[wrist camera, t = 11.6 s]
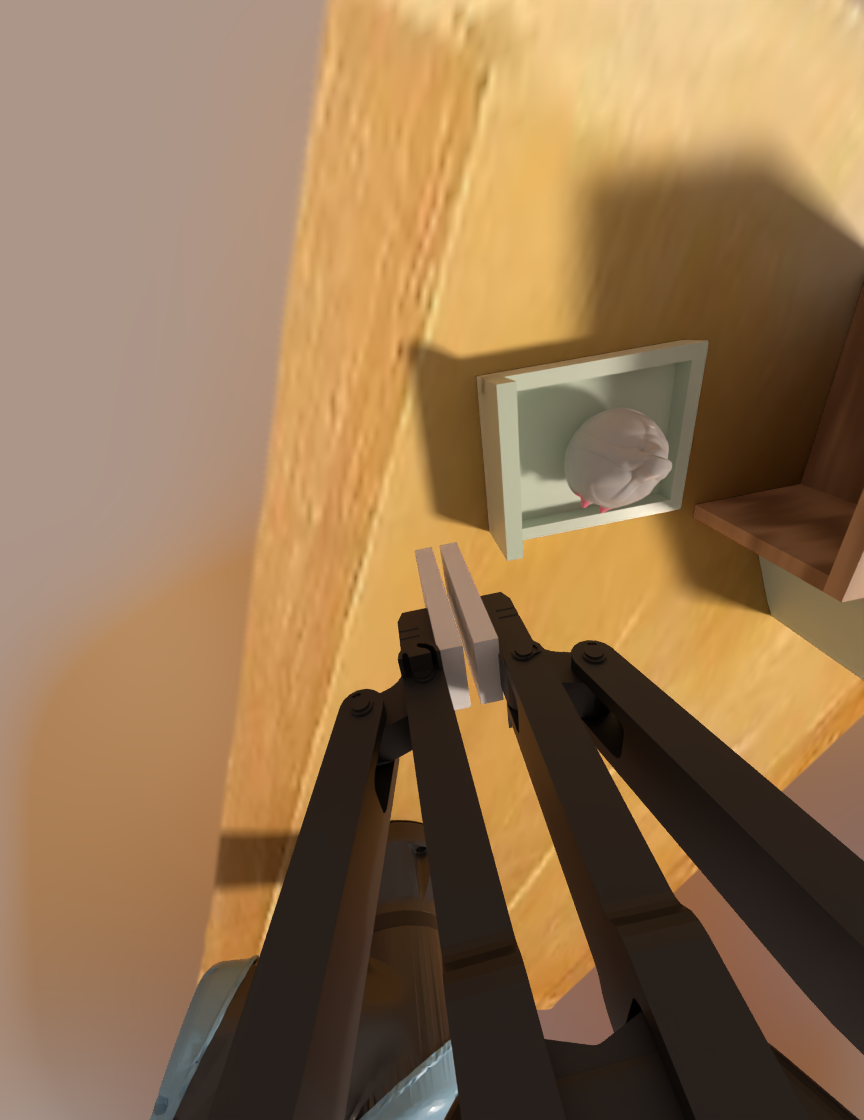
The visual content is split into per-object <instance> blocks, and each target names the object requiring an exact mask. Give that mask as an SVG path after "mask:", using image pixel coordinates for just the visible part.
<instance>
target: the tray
mask: <svg viewBox="0 0 864 1120" xmlns="http://www.w3.org/2000/svg"><path fill="white" fill-rule="evenodd" d="M708 344H709V341H706V340H679V341H674V342H668V343H662V344H657V345H651V346H645V347H640V348H634V349H628V350H623V351H617V352H611V353H606V354H600V355H594V356H589V357H583V358H577V359H572V360H566V361H560V362H554V363H549V364H543V365H537V366H532V367H526V368H520V369H515V370H509V371H503V372H498V373H492V374H486V375H481V376H476V378H477V390H478V402H479V414H480V426H481V437H482V449H483V461H484V473H485V485H486V497H487V509H488V521H489V532H490V534H491V535H492V537H493V538H494V540H495V542H496V543H497V545H498V546H499V548H500V550H501V551H502V553H503V555H504V556H505V558H506V559H507V561H510V560H515V559H520V558H523V540H528V539H533V538H538V537H543V536H548V535H553V534H558V533H563V532H568V531H573V530H578V529H583V528H588V527H593V526H598V525H603V524H608V523H613V522H618V521H623V520H628V519H633V518H638V517H643V516H648V515H653V514H658V513H663V512H668V511H673V510H678V509H681V505H682V499H683V493H684V487H685V481H686V475H687V469H688V463H689V457H690V451H691V445H692V439H693V433H694V427H695V422H696V416H697V410H698V404H699V398H700V392H701V386H702V380H703V374H704V368H705V362H706V356H707V350H708ZM618 407H624V408H629V409H633V410H636V411H639V412H641V413H643V414H645V415H646V416H648V417H649V418H650V419H652V420H653V421H654V422H655V423H656V425H657V426H658V427H659V428H660V429H661V431H662V432H663V434H664V436H665V437H666V439H667V441H668V445H669V452H668V459H669V460H670V461H671V462H672V469H671V471H670V472H669V473H668V475H667V476H666V477H665V478H664V479H662V480H660V481H659V483H658V484H657V485H656V486H655V487H654V488H653V490H652V491H651V492H650V493H649V494H648V495H647V496H646V497H644V498H642V499H641V500H639V501H636V502H634V503H631V504H628V505H625V506H621V507H617V508H613V509H610V510H608V511H606V512H604V513H600V512H599V509H600V508H599V506H600V505H596V504H594V503H593V504H590V505H588V506H587V507H586V508H584V509H583V508H582V506H581V499H580V497H579V496H577V495H575V494H574V493H573V492H572V491H571V489H570V488H569V486H568V483H567V480H566V476H565V469H564V464H565V455H566V449H567V446H568V444H569V442H570V440H571V438H572V436H573V434H574V433H575V432H576V431H577V430H578V428H579V427H580V426H581V425H582V424H583V423H584V422H585V421H587V420H588V419H590V418H591V417H593V416H595V415H597V414H599V413H601V412H603V411H606V410H609V409H613V408H618Z"/></svg>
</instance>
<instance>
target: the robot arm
mask: <svg viewBox="0 0 864 1120" xmlns="http://www.w3.org/2000/svg"><path fill="white" fill-rule="evenodd" d="M440 551H441V557H442V564H443V570H444V577H445V583H446V590H447V595H446V592H445V588H444V585H443V582H442V579H441V576H440V572H439V569H438V566H437V563H436V560H435V556H434V553H433V550H432V547H430V548H425V549H420V550H415V555H416V560H417V565H418V571H419V576H420V581H421V586H422V592H423V597H424V602H425V607H426V608H424V609H419V610H415V611H410V612H405V613H402V614H401V616H400V618H399V621H398V630H399V638H400V647H401V651H400V653H399V655H398V663H399V667H400V671H401V675H402V676H401V678H400V679H399V681H398V682H397V683H396V684H395V685H394V686H392V687H391V688H389V689H387V690H385V691H383V692H381V693H378V692H377V691H375V690H371V689H363V690H358V691H356V692H354V693H352V694H350V695H349V696H348V697H347V698H346V699H345V700H344V701H343V703H342V704H341V706H340V709H339V712H338V715H337V718H336V721H335V724H334V727H333V731H332V734H331V737H330V740H329V743H328V746H327V749H326V752H325V755H324V758H323V762H322V765H321V768H320V771H319V774H318V777H317V780H316V783H315V786H314V790H313V793H312V796H311V799H310V802H309V805H308V808H307V811H306V814H305V817H304V821H303V824H302V827H301V830H300V833H299V836H298V839H297V842H296V845H295V849H294V852H293V855H292V858H291V861H290V864H289V867H288V870H287V873H286V876H285V880H284V883H283V886H282V889H281V892H280V895H279V898H278V901H277V904H276V908H275V911H274V914H273V917H272V920H271V923H270V926H269V929H268V932H267V935H266V939H265V942H264V945H263V948H262V951H261V954H260V957H259V956H258V955H255V956H253V957H251V958H249V959H240V960H230V961H222V962H219V963H217V964H215V965H214V966H212V967H211V968H210V969H209V970H208V971H207V972H206V973H205V974H204V976H203V977H202V979H201V980H200V982H199V984H198V986H197V988H196V991H195V993H194V996H193V998H192V1001H191V1003H190V1006H189V1008H188V1011H187V1013H186V1016H185V1018H184V1021H183V1024H182V1027H181V1029H180V1032H179V1035H178V1038H177V1040H176V1043H175V1046H174V1048H173V1051H172V1054H171V1057H170V1060H169V1063H168V1066H167V1069H166V1071H165V1075H164V1077H163V1080H162V1084H161V1087H160V1090H159V1096H158V1098H157V1100H156V1102H155V1106H154V1109H153V1112H152V1115H151V1118H150V1120H859V1119H858V1118H857V1117H856V1116H854V1115H853V1114H852V1113H851V1112H850V1111H849V1110H847V1109H846V1108H845V1107H844V1106H843V1105H842V1104H840V1103H839V1102H838V1101H837V1100H836V1099H835V1098H833V1097H832V1096H831V1095H830V1094H829V1093H828V1092H826V1091H825V1090H824V1089H823V1088H822V1087H820V1086H819V1085H818V1084H817V1083H816V1082H815V1081H813V1080H812V1079H811V1078H810V1077H809V1076H808V1075H806V1074H805V1073H804V1072H803V1071H802V1070H800V1069H799V1068H798V1067H797V1066H796V1065H795V1064H793V1063H792V1062H791V1061H790V1060H789V1059H788V1058H786V1057H785V1056H784V1055H783V1054H782V1053H780V1052H779V1051H778V1050H777V1049H776V1048H774V1047H773V1046H772V1045H770V1044H769V1043H768V1042H767V1041H766V1039H765V1037H764V1035H763V1033H762V1031H761V1030H760V1028H759V1026H758V1024H757V1022H756V1021H755V1019H754V1017H753V1015H752V1013H751V1011H750V1010H749V1008H748V1006H747V1004H746V1002H745V1001H744V999H743V997H742V995H741V993H740V992H739V990H738V988H737V986H736V984H735V982H734V981H733V979H732V977H731V975H730V973H729V971H728V970H727V968H726V966H725V964H724V963H723V961H722V959H721V957H720V955H719V953H718V951H717V950H716V948H715V946H714V944H713V943H712V941H711V939H710V937H709V935H708V934H707V932H706V930H705V929H704V927H703V925H702V924H701V922H700V921H699V919H698V918H697V917H696V916H695V915H694V913H693V912H692V911H691V910H690V909H688V908H686V907H685V906H683V905H682V904H680V902H679V901H678V900H677V899H676V897H675V896H674V894H673V892H672V890H671V889H670V887H669V885H668V883H667V881H666V879H665V877H664V875H663V873H662V871H661V870H660V868H659V866H658V864H657V862H656V860H655V858H654V856H653V854H652V853H651V851H650V849H649V847H648V845H647V843H646V841H645V839H644V837H643V836H642V834H641V832H640V830H639V828H638V826H637V824H636V822H635V820H634V818H633V817H632V815H631V813H630V811H629V809H628V807H627V805H626V803H625V801H624V800H623V798H622V796H621V794H620V792H619V790H618V788H617V786H616V784H615V783H614V781H613V779H612V777H611V775H610V773H609V771H608V769H607V767H606V765H605V764H604V762H603V760H602V758H601V756H600V754H599V752H598V750H599V751H600V752H601V754H602V755H603V756H604V757H605V758H606V760H607V761H608V762H609V763H610V764H611V765H612V767H613V768H614V769H615V770H616V771H617V773H618V774H619V775H620V776H621V777H622V778H623V780H624V781H625V782H626V783H627V784H628V786H629V787H630V788H631V789H632V790H633V791H634V793H635V794H636V795H637V796H638V797H639V799H640V800H641V801H642V802H643V803H644V804H645V806H646V807H647V808H648V809H649V810H650V811H651V813H652V814H653V815H654V816H655V817H656V819H657V820H658V821H659V822H660V823H661V824H662V826H663V827H664V828H665V829H666V830H667V832H668V833H669V834H670V835H671V836H672V837H673V839H674V840H675V841H676V842H677V843H678V845H679V846H680V847H681V848H682V849H683V850H684V852H685V853H686V854H687V855H688V856H689V858H690V859H691V860H692V861H693V862H694V863H695V865H696V866H697V867H698V868H699V869H700V870H701V872H702V873H703V874H704V875H705V876H706V877H707V879H708V880H709V881H710V882H711V883H712V885H713V886H714V887H715V888H716V889H717V891H718V892H719V893H720V894H721V895H722V896H723V898H724V899H725V900H726V901H727V902H728V903H729V904H730V906H731V907H732V908H733V909H734V910H735V912H736V913H737V914H738V915H739V916H740V918H741V919H742V920H743V921H744V922H745V924H746V925H747V926H748V927H749V928H750V929H751V931H752V932H753V933H754V934H755V935H756V937H757V938H758V939H759V940H760V941H761V942H762V944H763V945H764V946H765V947H766V948H767V950H768V951H769V952H770V953H771V954H772V955H773V957H774V958H775V959H776V960H777V961H778V962H779V963H780V965H781V966H782V967H783V968H784V970H785V971H786V972H787V973H788V974H789V975H790V977H791V978H792V979H793V980H794V981H795V983H796V984H797V985H798V986H799V987H800V988H801V990H802V991H803V992H804V993H805V994H806V995H807V996H808V997H809V999H810V1000H811V1001H812V1002H813V1003H814V1004H815V1005H816V1006H817V1007H818V1009H819V1010H820V1011H821V1012H822V1013H823V1014H824V1015H825V1016H826V1017H827V1018H828V1020H829V1021H830V1022H831V1023H832V1024H833V1025H834V1026H835V1027H836V1028H837V1029H838V1030H839V1031H840V1032H841V1033H842V1034H843V1035H844V1036H845V1037H846V1038H847V1039H848V1040H849V1041H850V1042H851V1043H852V1044H853V1045H854V1046H855V1047H856V1048H857V1049H858V1050H859V1051H860V1052H861V1053H862V1054H863V1055H864V861H863V860H862V859H860V858H859V857H858V856H857V855H856V854H854V853H853V852H852V851H851V850H850V849H849V848H847V847H846V846H845V845H844V844H843V843H842V842H840V841H839V840H838V839H837V838H836V837H834V836H833V835H832V834H831V833H830V832H829V831H827V830H826V829H825V828H824V827H823V826H821V825H820V824H819V823H818V822H817V821H816V820H814V819H813V818H812V817H811V816H810V815H808V814H807V813H806V812H805V811H804V810H803V809H801V808H800V807H799V806H798V805H797V804H795V803H794V802H793V801H792V800H791V799H790V798H788V797H787V796H786V795H785V794H784V793H783V792H781V791H780V790H779V789H778V788H777V787H776V786H774V785H773V784H772V783H771V782H770V781H768V780H767V779H766V778H765V777H764V776H763V775H761V774H760V773H759V772H758V771H757V770H755V769H754V768H753V767H752V766H751V765H750V764H748V763H747V762H746V761H745V760H744V759H742V758H741V757H740V756H739V755H738V754H737V753H735V752H734V751H733V750H732V749H731V748H729V747H728V746H727V745H726V744H725V743H724V742H722V741H721V740H720V739H719V738H718V737H717V736H715V735H714V734H713V733H712V732H711V731H709V730H708V729H707V728H706V727H705V726H704V725H702V724H701V723H700V722H699V721H698V720H696V719H695V718H694V717H693V716H692V715H691V714H689V713H688V712H687V711H686V710H685V709H683V708H682V707H681V706H680V705H679V704H678V703H676V702H675V701H674V700H673V699H672V698H671V697H669V696H668V695H667V694H666V693H665V692H663V691H662V690H661V689H660V688H659V687H658V686H656V685H655V684H654V683H653V682H652V681H650V680H649V679H648V678H647V677H646V676H645V675H643V674H642V673H641V672H640V671H639V670H637V669H636V668H635V667H634V666H633V665H632V664H630V663H629V662H628V661H627V660H626V659H625V658H623V657H622V656H621V655H620V654H619V653H617V652H616V651H615V650H614V649H613V648H612V647H610V646H608V645H607V644H605V643H602V642H599V641H591V640H587V641H582V642H579V643H578V644H576V645H575V646H574V647H573V649H572V650H571V652H554V651H549V650H545V649H544V648H543V647H542V646H541V645H540V644H539V643H537V642H535V641H533V640H532V638H531V636H530V634H529V633H528V631H527V629H526V627H525V625H524V623H523V621H522V620H521V618H520V616H519V615H518V612H517V610H516V609H515V607H514V605H513V603H512V601H511V599H510V598H509V597H507V596H506V595H504V594H503V593H501V592H498V593H493V594H488V595H483V596H480V595H479V593H478V590H477V588H476V586H475V584H474V581H473V579H472V577H471V574H470V572H469V570H468V567H467V565H466V563H465V561H464V558H463V556H462V554H461V551H460V549H459V547H458V545H457V542H455V543H450V544H445V545H440ZM447 596H448V598H447ZM448 599H449V601H448ZM449 603H450V604H449ZM450 606H451V608H450ZM451 609H452V611H451ZM452 612H453V614H452ZM453 615H454V617H453ZM454 618H455V620H454ZM455 622H456V624H455ZM456 625H457V627H456ZM457 628H458V630H457ZM458 631H459V633H458ZM459 634H460V636H459ZM460 638H461V640H460ZM461 641H462V643H461ZM462 644H463V647H464V650H465V653H466V657H467V660H468V663H469V666H470V669H471V673H472V676H473V679H474V682H475V685H476V689H477V692H478V695H479V698H480V701H481V704H486V703H490V702H495V701H499V700H503V692H504V695H505V698H506V700H507V710H508V723H509V728H511V727H512V726H513V729H514V732H515V735H516V738H517V740H518V743H519V746H520V749H521V752H522V755H523V758H524V761H525V763H526V766H527V769H528V772H529V775H530V778H531V781H532V784H533V786H534V789H535V792H536V795H537V798H538V801H539V804H540V807H541V809H542V812H543V815H544V818H545V821H546V824H547V827H548V830H549V832H550V835H551V838H552V841H553V844H554V847H555V850H556V853H557V855H558V858H559V861H560V864H561V867H562V870H563V873H564V876H565V878H566V881H567V884H568V887H569V890H570V893H571V896H572V899H573V901H574V904H575V907H576V910H577V913H578V916H579V919H580V922H581V924H582V927H583V930H584V933H585V936H586V939H587V942H588V945H589V947H590V950H591V953H592V956H593V959H594V962H595V965H596V968H597V971H598V975H599V979H600V984H601V989H602V994H603V998H604V1002H605V1005H606V1009H607V1012H608V1015H609V1018H610V1022H611V1025H612V1028H613V1031H614V1033H613V1034H612V1035H611V1036H610V1037H608V1038H607V1039H606V1040H605V1041H603V1042H602V1043H601V1044H598V1045H585V1044H578V1043H570V1042H562V1041H555V1040H547V1039H544V1036H543V1032H542V1028H541V1025H540V1021H539V1017H538V1014H537V1010H536V1006H535V1002H534V999H533V995H532V991H531V988H530V984H529V980H528V977H527V973H526V969H525V966H524V962H523V959H522V956H521V953H520V950H519V948H518V945H517V942H516V939H515V936H514V932H513V928H512V925H511V921H510V917H509V913H508V910H507V906H506V902H505V898H504V895H503V891H502V887H501V883H500V880H499V876H498V872H497V868H496V865H495V861H494V857H493V853H492V850H491V846H490V842H489V838H488V835H487V831H486V827H485V823H484V820H483V816H482V812H481V808H480V805H479V801H478V797H477V793H476V790H475V786H474V782H473V778H472V775H471V771H470V767H469V763H468V760H467V756H466V752H465V748H464V745H463V741H462V737H461V733H460V730H459V726H458V722H457V718H456V714H455V711H454V710H458V709H463V708H467V707H471V703H470V696H469V689H468V682H467V675H466V668H465V661H464V654H463V647H462ZM597 749H598V750H597ZM411 750H413V756H414V763H415V770H416V777H417V785H418V792H419V799H420V806H421V813H422V820H423V824H418V823H411V822H393V823H390V817H391V811H392V804H393V798H394V791H395V784H396V778H397V771H398V765H399V757H401V756H402V755H404V754H406V753H408V752H409V751H411Z"/></svg>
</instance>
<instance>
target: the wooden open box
mask: <svg viewBox="0 0 864 1120" xmlns="http://www.w3.org/2000/svg"><path fill="white" fill-rule="evenodd" d="M693 518H695V519H697V520H698V521H700V522H702V523H704V524H705V525H707V526H709V527H711V528H712V529H714V530H716V531H718V532H719V533H721V534H723V535H725V536H726V537H728V538H730V539H732V540H733V541H735V542H737V543H739V544H740V545H742V546H744V547H746V548H747V549H749V550H751V551H753V552H754V553H756V554H758V555H760V556H761V557H763V558H765V559H767V560H768V561H770V562H772V563H774V564H775V565H777V566H779V567H780V568H782V569H784V570H786V571H787V572H789V573H791V574H793V575H794V576H796V577H798V578H800V579H801V580H803V581H805V582H807V583H808V584H810V585H812V586H814V587H815V588H817V589H819V590H821V591H822V592H824V593H826V594H828V595H829V596H831V597H833V598H835V599H836V600H838V601H840V602H846V601H851V600H855V599H860V598H864V284H863V287H862V290H861V294H860V297H859V300H858V303H857V306H856V309H855V313H854V316H853V319H852V322H851V325H850V329H849V332H848V335H847V338H846V341H845V344H844V348H843V351H842V354H841V357H840V360H839V363H838V367H837V370H836V373H835V376H834V379H833V383H832V386H831V389H830V392H829V395H828V398H827V402H826V405H825V408H824V411H823V414H822V417H821V421H820V424H819V427H818V430H817V433H816V437H815V440H814V443H813V446H812V449H811V452H810V456H809V459H808V462H807V465H806V468H805V471H804V475H803V478H802V481H801V484H798V485H793V486H788V487H783V488H777V489H772V490H767V491H762V492H757V493H752V494H747V495H742V496H737V497H732V498H727V499H722V500H717V501H712V502H707V503H702V504H697V505H695V509H694V514H693Z"/></svg>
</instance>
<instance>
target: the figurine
mask: <svg viewBox="0 0 864 1120" xmlns="http://www.w3.org/2000/svg"><path fill="white" fill-rule="evenodd" d="M668 452H669V445H668V441H667V439H666V437H665V436H664V434H663V432H662V431H661V429H660V428H659V427H658V426H657V425H656V423H655V422H654V421H653V420H652V419H650V418H649V417H648V416H646V415H645V414H643V413H641V412H639V411H636V410H633V409H629V408H624V407H618V408H613V409H609V410H606V411H603V412H601V413H599V414H597V415H595V416H593V417H591V418H590V419H588V420H587V421H585V422H584V423H583V424H582V425H581V426H580V427H579V428H578V430H577V431H576V432H575V433H574V434H573V436H572V438H571V440H570V442H569V444H568V446H567V449H566V455H565V464H564V469H565V476H566V480H567V483H568V486H569V488H570V489H571V491H572V492H573V493H574V494H575V495H577V496H579V497H580V499H581V506H582V508H583V509H584V508H586V507H587V506H588V505H590V504H593V503H594V504H596V505H600V506H599V508H600V509H599V512H600V513H604V512H606V511H608V510H610V509H613V508H617V507H621V506H625V505H628V504H631V503H634V502H636V501H639V500H641V499H642V498H644V497H646V496H647V495H648V494H649V493H650V492H651V491H652V490H653V488H654V487H655V486H656V485H657V484H658V483H659V481H660V480H662V479H664V478H665V477H666V476H667V475H668V473H669V472H670V471H671V469H672V462H671V461H670V460H669V459H668Z"/></svg>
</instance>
